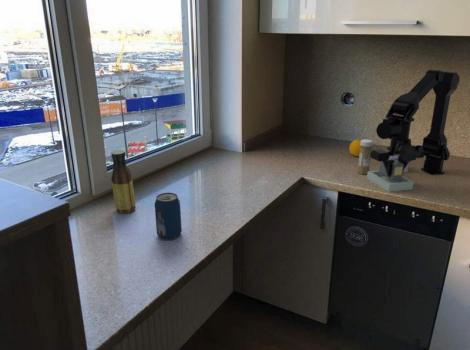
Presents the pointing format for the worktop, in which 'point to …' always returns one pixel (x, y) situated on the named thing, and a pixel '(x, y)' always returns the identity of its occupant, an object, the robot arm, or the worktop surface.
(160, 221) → the soda can
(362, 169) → the sprinkles bottle
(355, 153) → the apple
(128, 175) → the sauce bottle
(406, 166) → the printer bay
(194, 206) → the worktop surface
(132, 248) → the worktop surface
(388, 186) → the tray
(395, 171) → the grey block
